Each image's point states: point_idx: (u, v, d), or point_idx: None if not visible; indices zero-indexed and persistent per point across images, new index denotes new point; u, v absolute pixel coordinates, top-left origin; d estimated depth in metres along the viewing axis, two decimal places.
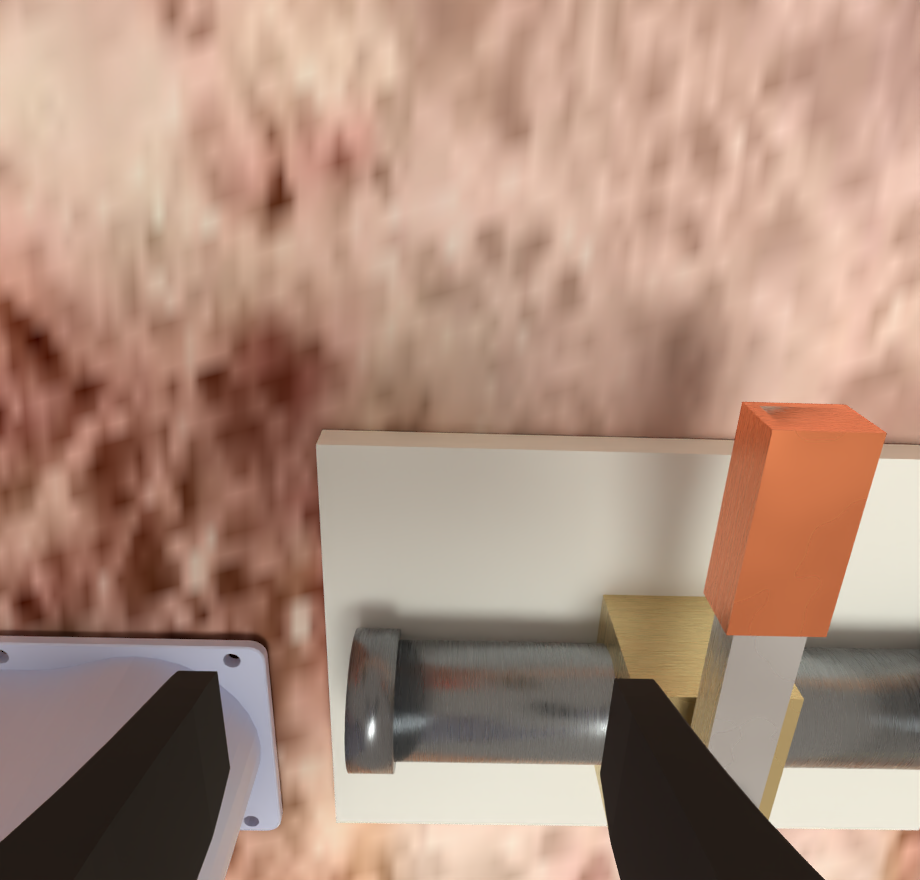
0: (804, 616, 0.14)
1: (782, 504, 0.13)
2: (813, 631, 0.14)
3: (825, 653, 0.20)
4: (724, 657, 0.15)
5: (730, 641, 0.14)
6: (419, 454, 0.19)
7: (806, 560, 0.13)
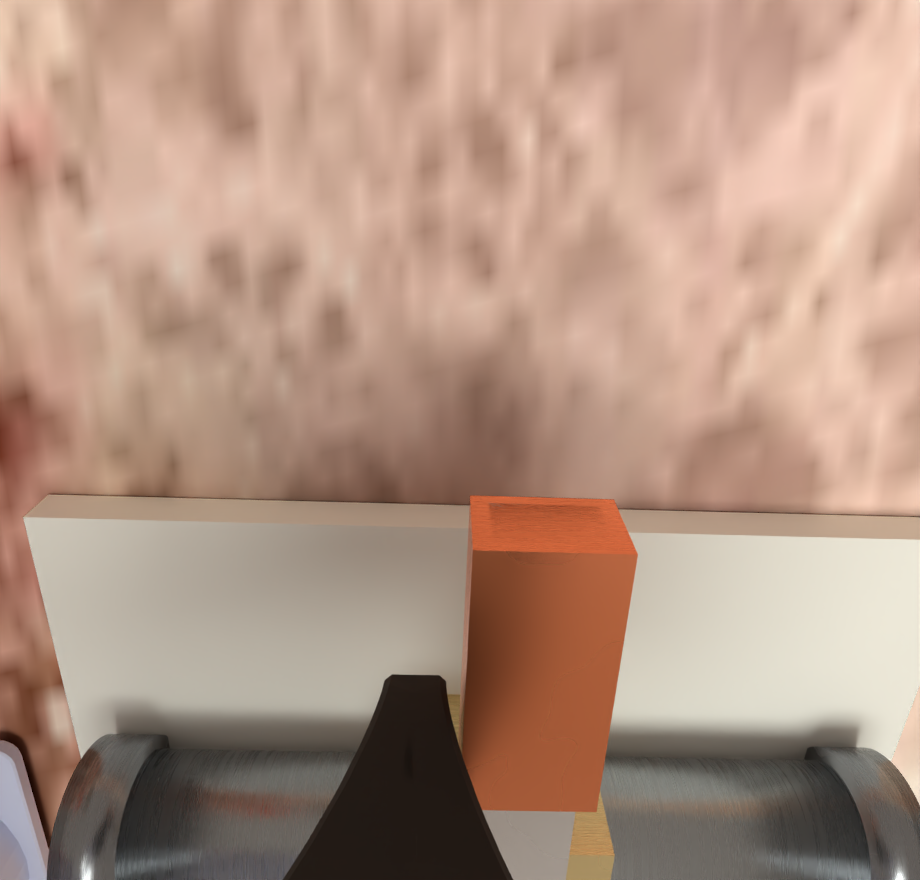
0: (562, 787, 0.10)
1: (505, 647, 0.09)
2: (577, 805, 0.10)
3: (675, 770, 0.16)
4: None
5: None
6: (155, 529, 0.15)
7: (552, 718, 0.10)
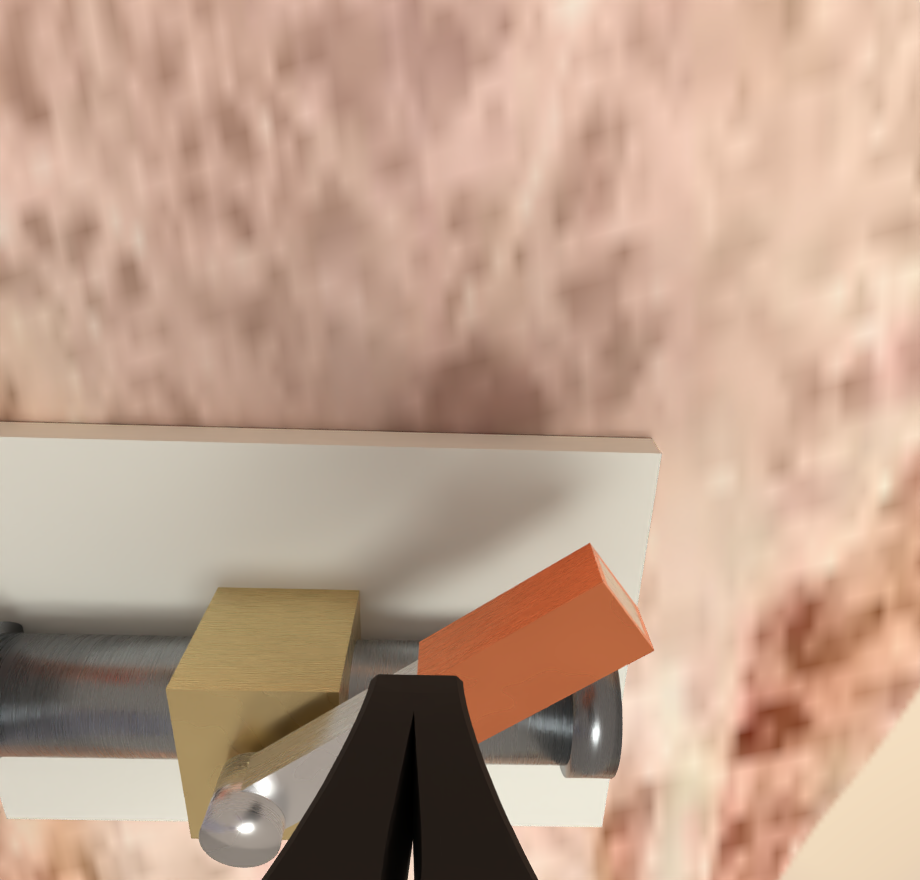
0: (476, 720, 0.15)
1: (551, 634, 0.14)
2: None
3: None
4: None
5: None
6: None
7: (521, 684, 0.14)
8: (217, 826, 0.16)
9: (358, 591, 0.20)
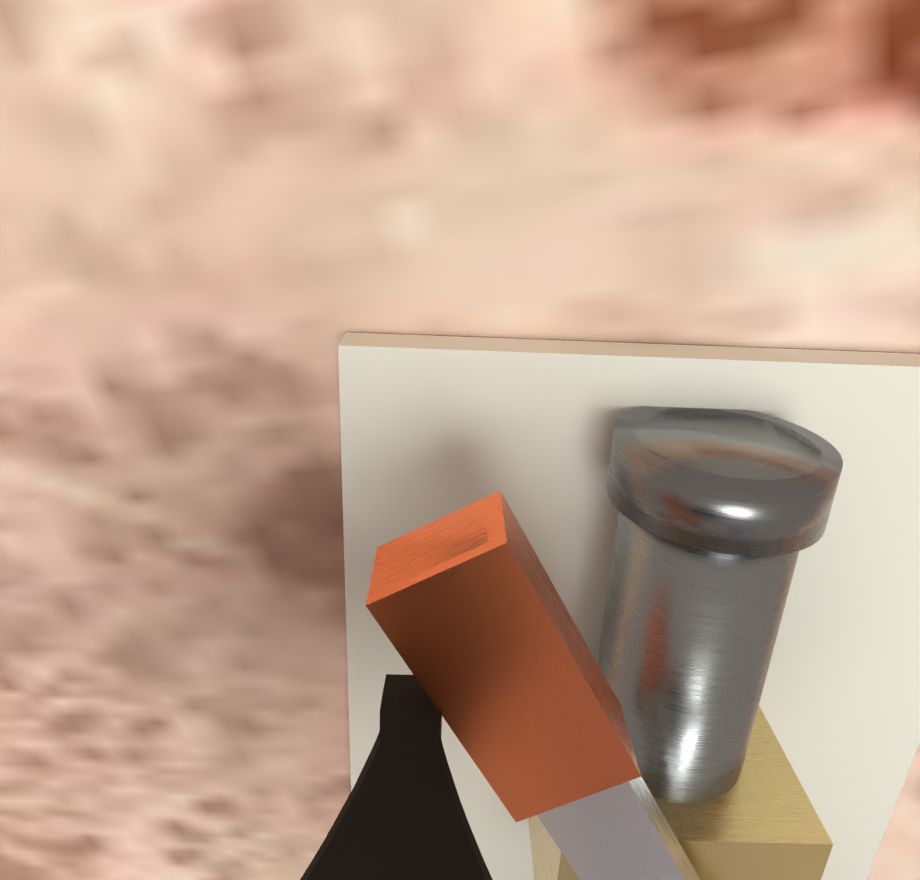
0: (592, 767, 0.10)
1: (452, 671, 0.09)
2: (619, 777, 0.10)
3: None
4: (552, 830, 0.11)
5: (540, 815, 0.11)
6: None
7: (538, 712, 0.10)
8: None
9: None
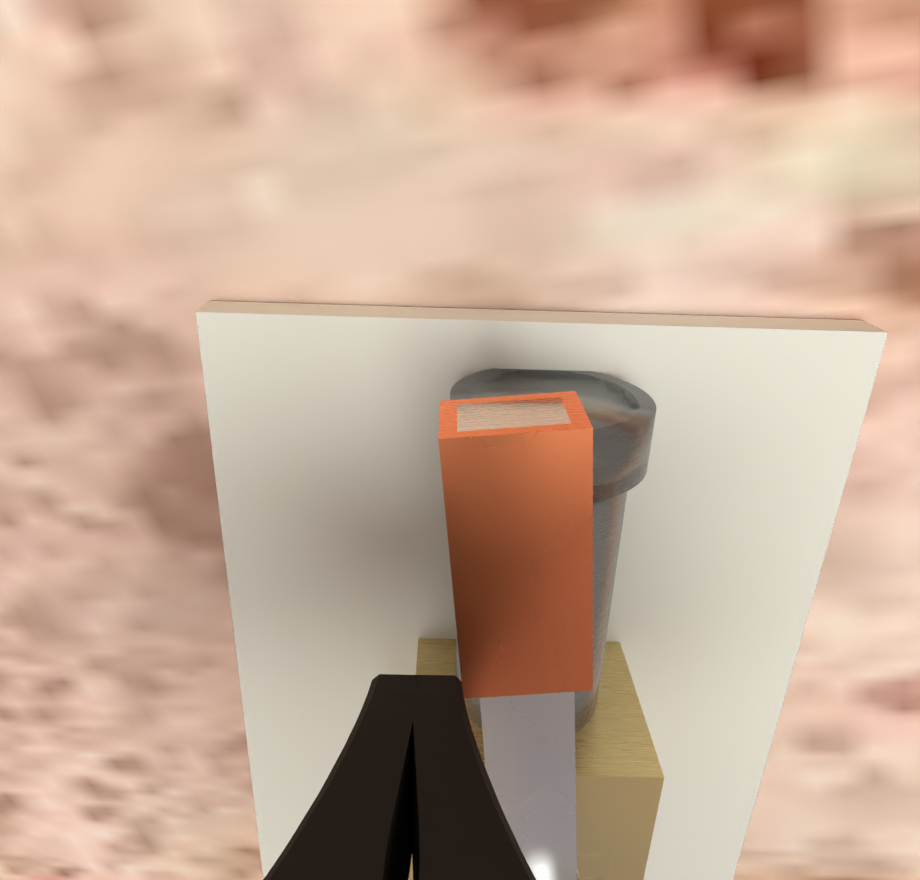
0: (556, 667, 0.11)
1: (482, 532, 0.10)
2: (574, 684, 0.11)
3: None
4: None
5: None
6: None
7: (537, 599, 0.10)
8: None
9: (418, 640, 0.17)
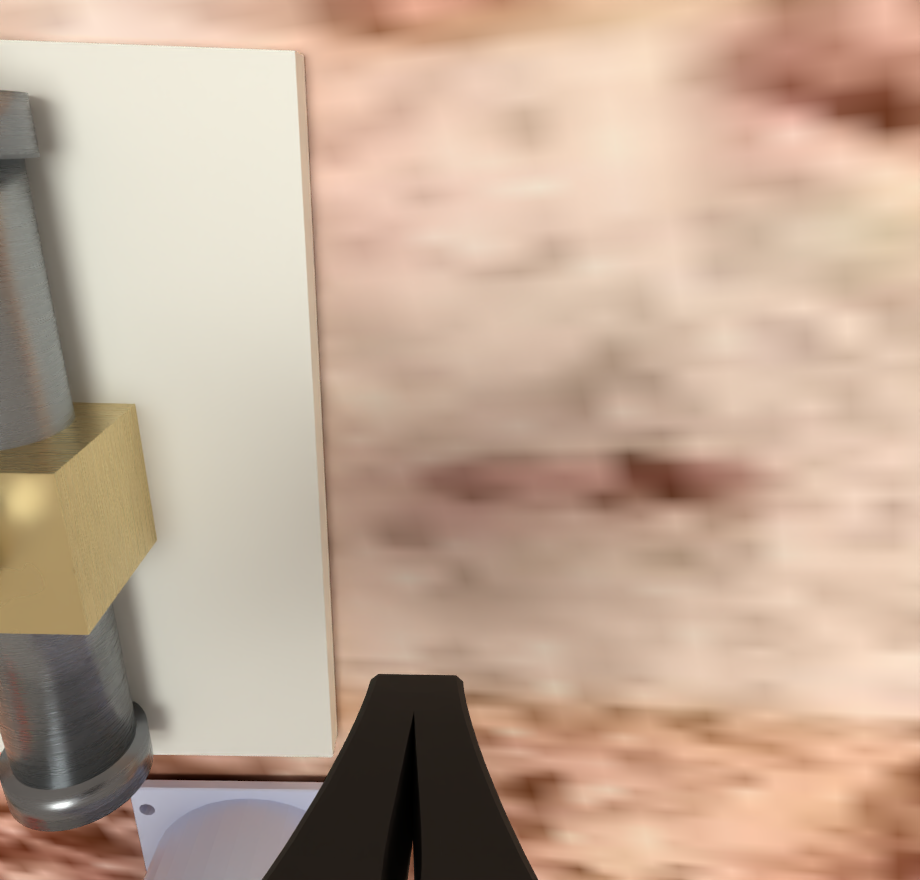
0: None
1: None
2: None
3: None
4: None
5: None
6: None
7: None
8: None
9: None
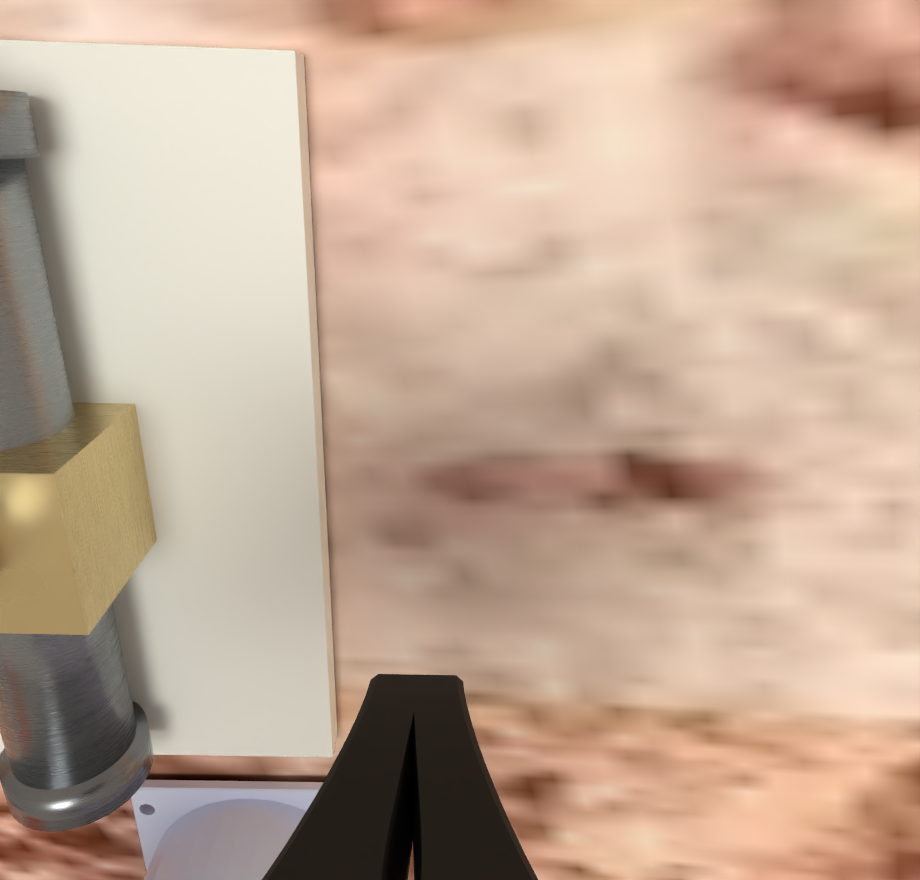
0: None
1: None
2: None
3: None
4: None
5: None
6: None
7: None
8: None
9: None
